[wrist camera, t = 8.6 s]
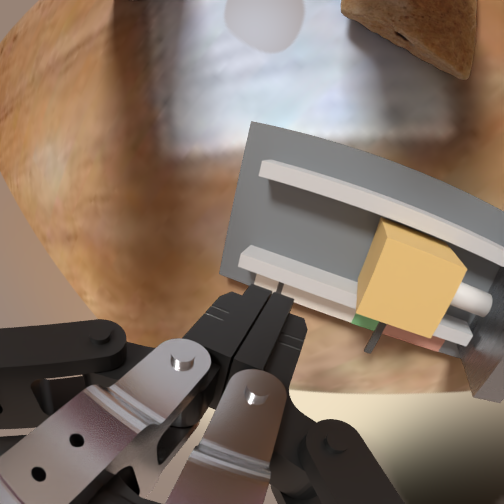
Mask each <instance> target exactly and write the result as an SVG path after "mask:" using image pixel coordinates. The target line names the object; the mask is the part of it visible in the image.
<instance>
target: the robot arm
mask: <svg viewBox="0 0 504 504" xmlns="http://www.w3.org/2000/svg"><path fill="white" fill-rule="evenodd" d="M131 1H136V0H131ZM293 302H294V299H293V298H290V297H288V296H285V295H282V294H279V293H277V292H273V294H272V291H271V290H268V289H265V288H263V287H260V286H257V285H255V284H251V285H250V286H249V287H248V289H247V290H246V291H245V292H244V294H243V295H239V294H237V293H234V292H229V293H227V294H225V295H222V296H220V297H219V298H218V299H217V300H216V301H215V302H214V303H213V304H212V307H210V308H209V309H208V310H207V311H206V313H205V314H203V316H202V317H201V318H200V319H199V320H198V321H197V322H196V323H195V324H194V326H193V327H192V328H191V329H190V330H189V331H188V332H187V333H186V334H185V336H184V337H183V338H182V339H180V338H179V339H170V340H167V341H165V342H163V343H161V344H160V345H159V346H158V347H157V348H151V347H146V346H142V345H138V344H134V343H130V342H126V334H125V332H124V330H123V329H122V327H120V326H119V325H118V324H116V323H114V322H112V321H109V320H102V319H98V320H88V321H79V322H71V323H60V324H50V325H39V326H27V327H16V328H15V327H14V328H2V329H0V429H18V428H34V427H37V428H36V429H34V430H33V431H32V432H30V433H29V434H28V435H19V436H4V437H0V504H161V503H157V502H154V501H150V500H147V499H145V498H146V497H147V495H148V494H149V493H150V492H151V491H152V489H153V488H154V487H155V485H156V483H157V482H158V480H159V477H160V475H161V473H162V471H163V470H164V468H165V467H166V466H167V465H168V463H169V462H170V461H171V460H172V458H173V457H174V456H175V455H176V453H177V452H178V451H179V449H180V448H181V447H182V446H183V445H184V443H185V442H186V441H187V440H188V438H189V437H190V435H191V434H192V433H193V432H194V431H195V429H196V428H197V426H198V425H199V422H200V419H201V418H202V417H203V415H204V413H205V412H206V410H207V409H208V407H210V408H213V409H215V410H216V411H215V412H214V415H213V417H212V419H211V421H210V424H209V425H208V427H207V429H206V431H205V433H204V436H203V437H202V440H201V441H200V443H199V445H198V446H196V447H195V448H194V450H193V451H192V453H191V455H190V456H189V458H188V460H187V462H186V464H185V466H184V468H183V470H182V472H181V474H180V476H179V478H178V480H177V482H176V484H175V486H174V488H173V489H172V492H171V493H170V495H169V497H168V499H167V501H166V503H165V504H263V502H264V499H265V496H266V492H267V489H268V485H269V484H271V489H272V492H273V494H274V496H275V498H276V501H277V503H278V504H404V502H403V500H402V499H401V498H400V496H399V494H398V493H397V491H396V490H395V488H394V487H393V485H392V484H391V482H390V481H389V479H388V477H387V476H386V474H385V473H384V472H383V470H382V468H381V467H380V465H379V464H378V462H377V461H376V459H375V458H374V456H373V454H372V453H371V451H370V450H369V448H368V447H367V445H366V444H365V442H364V440H363V439H362V438H361V436H360V434H359V433H358V432H357V431H356V430H355V429H354V428H353V427H352V426H351V425H349V424H347V423H345V422H343V421H340V420H334V419H327V420H322V421H319V422H317V423H316V422H315V421H313V420H312V419H310V418H309V417H307V416H305V415H304V414H303V413H301V412H300V411H299V410H298V409H297V408H296V407H295V406H294V404H293V402H292V401H291V398H290V396H289V385H290V382H291V379H292V376H293V373H294V370H295V367H296V364H297V361H298V358H299V355H300V352H301V349H302V346H303V343H304V339H305V336H306V333H307V326H306V323H305V320H304V318H301V317H298V316H296V315H293V314H290V311H291V308H292V305H293ZM81 374H82V375H83V376H79V377H72V378H63V379H54V380H47V379H46V378H56V377H65V376H73V375H81Z"/></svg>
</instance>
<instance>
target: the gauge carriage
mask: <svg viewBox="0 0 504 504" xmlns="http://www.w3.org/2000/svg"><path fill="white" fill-rule="evenodd" d="M466 271H467V268H466V267H465V266H464V264H463V263H462V262H461V260H460V259H459V258H458V257H457V256H456V254H455V253H454V252H453V251H452V249H451V248H450V247H449V246H448V245H447V243H446V242H443V241H441V240H438V239H436V238H434V237H431V236H429V235H426V234H424V233H421V232H419V231H416V230H414V229H411V228H409V227H406V226H403V225H401V224H398V223H396V222H393V221H390V220H388V219H385V218H382V217H381V218H380V221H379V224H378V227H377V230H376V232H375V235H374V238H373V241H372V243H371V246H370V249H369V252H368V254H367V257H366V259H365V262H364V265H363V267H362V270H361V272H360V275H359V277H358V286H357V303H356V313H357V314H359V315H362V316H365V317H368V318H371V319H374V320H377V321H379V323H378V325H377V327H376V328H375V330H374V332H373V334H372V336H371V338H370V340H369V342H368V343H367V345H366V347H365V349H364V352H366V353H370V354H371V352H372V350H373V349H374V347H375V345H376V343H377V341H378V340H379V338H380V336H381V334H382V332H383V331H384V329H385V327H386V325H387V324H388V325H391V326H394V327H397V328H400V329H403V330H406V331H409V332H412V333H415V334H418V335H421V336H424V337H427V338H430V339H431V337H432V335H433V334H434V332H435V330H436V329H437V327H438V325H439V324H440V322H441V320H442V318H443V316H444V315H445V313H446V311H447V309H448V307H449V305H452V306H454V307H457V308H460V309H462V310H465V311H468V312H470V313H473V314H475V315H478V316H481V317H485V316H486V315H487V314H488V313H489V311H490V309H491V306H492V296H491V294H489V293H487V292H484V291H482V290H480V289H477V288H475V287H472V286H470V285H468V284H465V283H463V282H462V280H463V277H464V275H465V273H466Z"/></svg>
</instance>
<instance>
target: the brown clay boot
mask: <svg viewBox="0 0 504 504" xmlns="http://www.w3.org/2000/svg"><path fill="white" fill-rule="evenodd" d="M476 12H477V0H341V13H342V14H343V15H344V16H346V17H347V18H349V19H352V20H355V21H357V22H359V23H360V24H362V25H363V26H365V27H366V28H367V29H369V30H370V31H371V32H374V33H377V34H379V35H380V36H382V37H383V38H385V39H388V40H389V41H391V42H392V43H393V44H395V45H397V46H399V47H402V48H405V49H406V50H408V51H409V52H410V53H411V54H413V55H414V56H416V57H418V58H419V59H421V60H423V61H425V62H427V63H430V64H432V65H434V66H435V67H436V68H437V69H439V70H442V71H444V72H447V73H449V74H451V75H453V76H455V77H457V78H458V79H462V80H466V79H467V78H468V77H469V76H470V72H471V68H472V62H473V55H474V49H475V42H476V23H477V22H476Z"/></svg>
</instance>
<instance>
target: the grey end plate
mask: <svg viewBox="0 0 504 504" xmlns="http://www.w3.org/2000/svg"><path fill="white" fill-rule="evenodd" d="M488 293H489V294H491V296H492V306H491V309H490V311H489V313H488V314H487V315H486V316H485V317H481V316H478V315H475V317H474V319H473V321H472V322H471V324H470V326H469V328H470V330H471V332H472V334H473V337H472V338H471V340H470V341H469V343H468V345H467V346H463V345H460V344H458V345H457V348H458V351H459V354H460V357H461V360H462V363H463V366H464V369H465V372H466V375H467V378H468V382H469V385H470V388H471V392H472V396H473V397H475V398H479V399H484V400H488V401H493V402H498V403H500V402H501V401H502V400H503V399H504V267H502V266H500V268H499V270H498V272H497V274H496V276H495V279H494V281H493V283H492V285H491V287H490V289H489V291H488Z"/></svg>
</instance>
